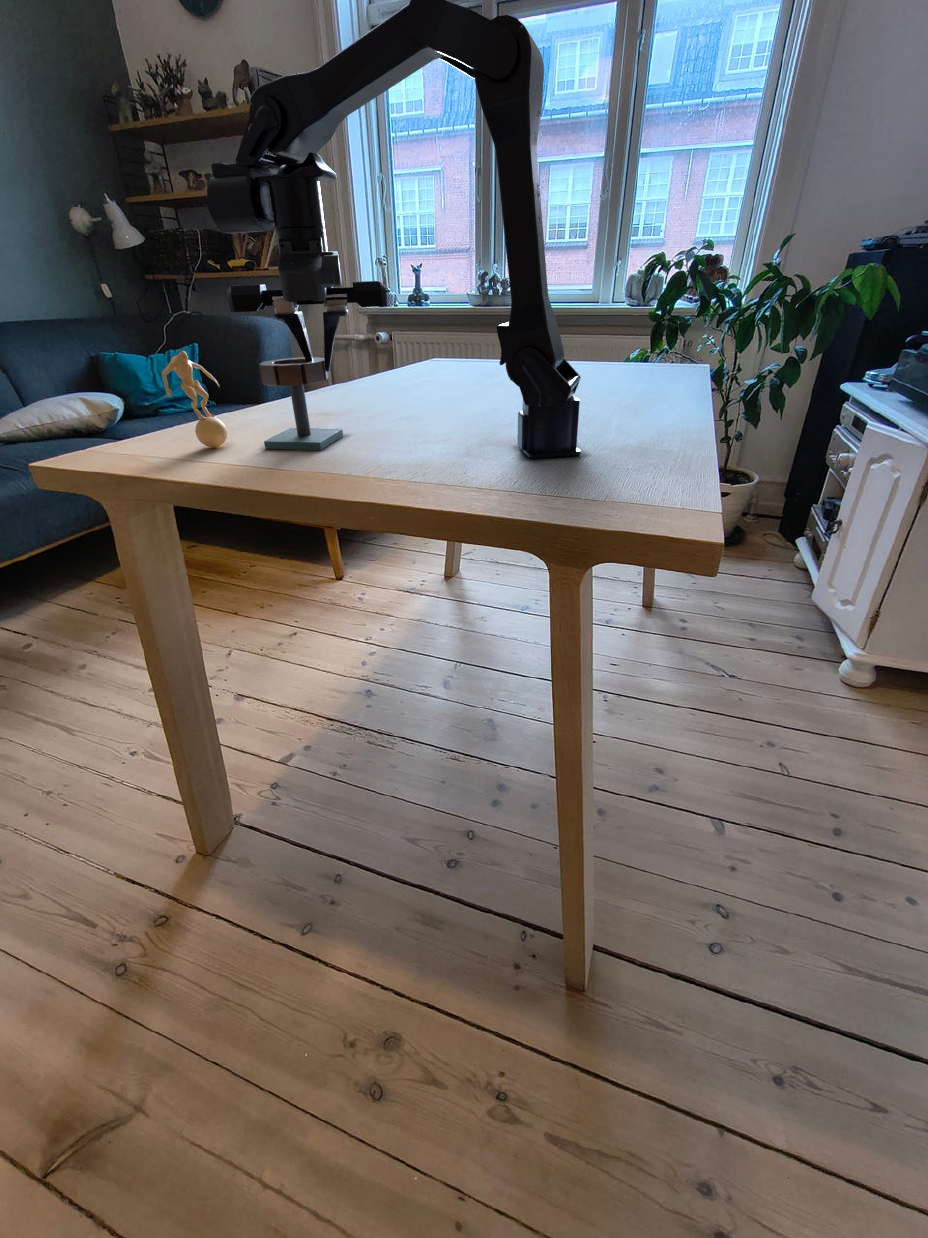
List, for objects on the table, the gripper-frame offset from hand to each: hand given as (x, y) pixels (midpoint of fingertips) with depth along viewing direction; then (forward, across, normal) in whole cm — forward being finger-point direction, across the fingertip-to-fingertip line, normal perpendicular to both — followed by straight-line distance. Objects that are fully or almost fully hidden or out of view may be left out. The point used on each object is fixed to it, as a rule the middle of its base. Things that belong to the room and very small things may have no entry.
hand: (320, 371), depth 78 cm
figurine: (+9, -16, +1) cm, 19 cm away
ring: (+1, -3, 0) cm, 3 cm away
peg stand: (+9, -3, 0) cm, 10 cm away
